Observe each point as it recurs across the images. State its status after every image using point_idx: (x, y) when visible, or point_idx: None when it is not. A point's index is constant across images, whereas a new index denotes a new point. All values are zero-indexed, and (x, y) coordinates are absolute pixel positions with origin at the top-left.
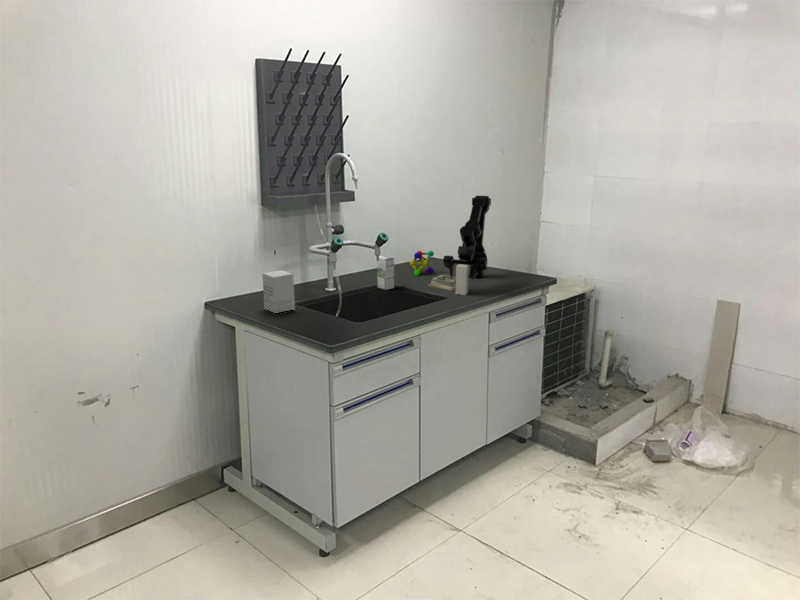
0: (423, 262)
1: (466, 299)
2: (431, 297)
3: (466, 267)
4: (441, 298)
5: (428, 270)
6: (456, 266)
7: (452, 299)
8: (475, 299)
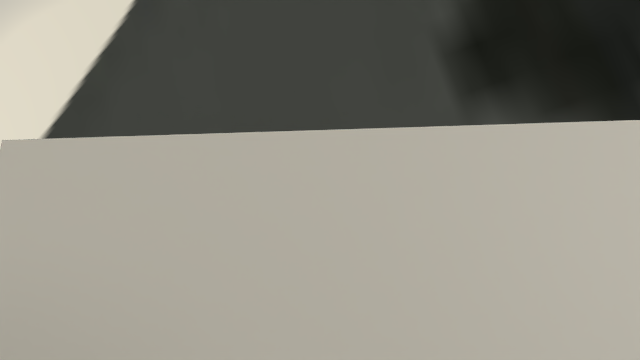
0: None
1: (225, 92)
2: (636, 30)
3: (22, 150)
4: (509, 32)
5: None
6: (633, 126)
7: (376, 38)
8: (126, 128)
